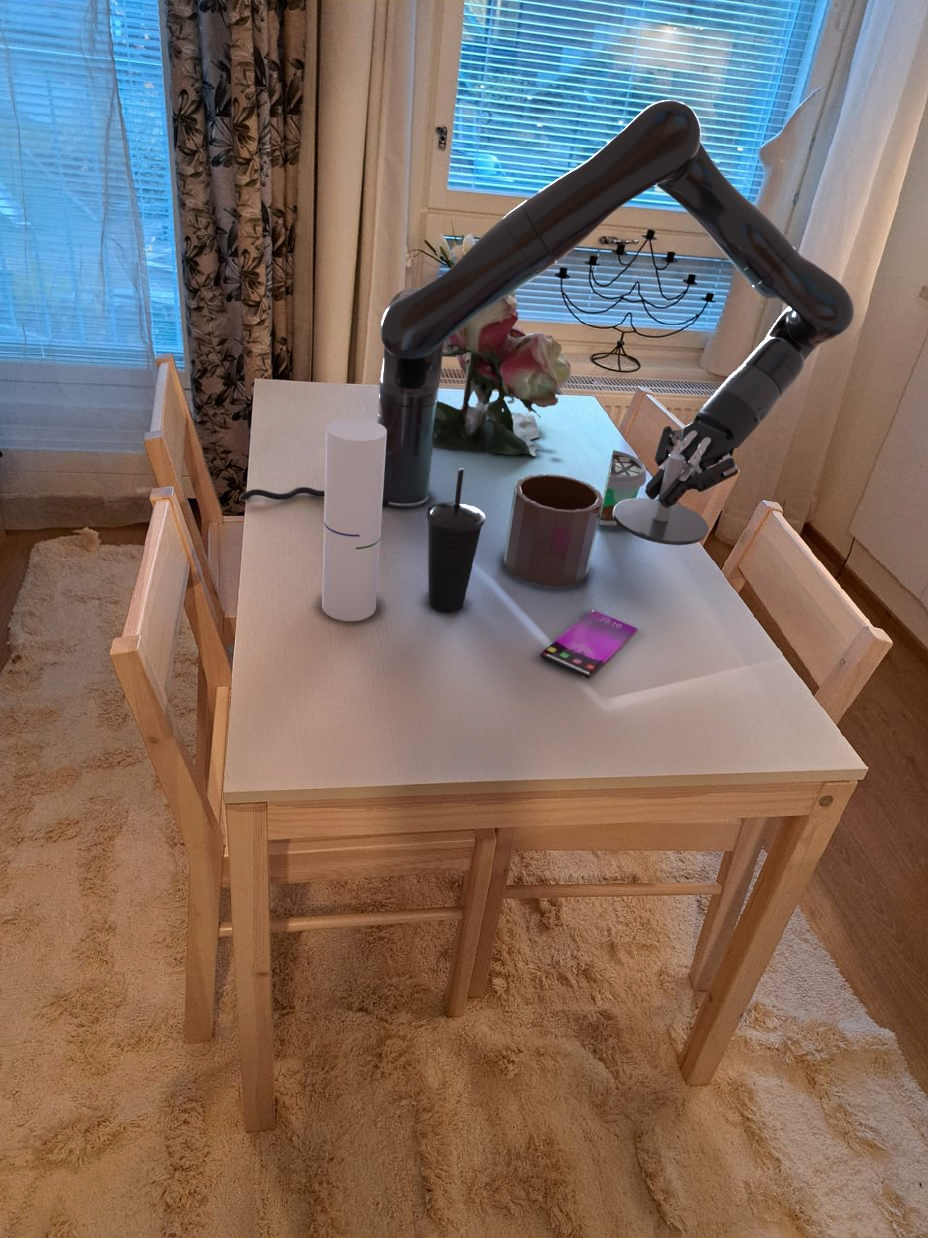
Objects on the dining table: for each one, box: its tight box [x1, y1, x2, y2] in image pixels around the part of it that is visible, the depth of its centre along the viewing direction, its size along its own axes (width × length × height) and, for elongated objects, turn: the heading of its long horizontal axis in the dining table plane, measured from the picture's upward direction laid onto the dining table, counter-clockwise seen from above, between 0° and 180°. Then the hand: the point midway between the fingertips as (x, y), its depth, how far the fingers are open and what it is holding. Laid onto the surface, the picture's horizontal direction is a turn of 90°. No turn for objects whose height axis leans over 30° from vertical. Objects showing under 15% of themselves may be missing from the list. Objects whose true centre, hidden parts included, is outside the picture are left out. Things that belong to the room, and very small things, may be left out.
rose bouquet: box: [433, 291, 572, 457], centre depth 170 cm, size 26×29×30 cm
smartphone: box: [539, 609, 638, 679], centre depth 115 cm, size 7×15×1 cm, turn 146°
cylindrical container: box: [321, 417, 387, 622], centre depth 111 cm, size 7×7×25 cm
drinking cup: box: [425, 467, 486, 614], centre depth 115 cm, size 8×8×20 cm
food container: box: [598, 449, 647, 528], centre depth 147 cm, size 12×6×10 cm, turn 168°
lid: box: [613, 453, 709, 546], centre depth 123 cm, size 14×14×11 cm
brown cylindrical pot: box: [503, 473, 603, 588], centre depth 129 cm, size 13×13×12 cm
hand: (656, 499), depth 122 cm, fingers closed on lid
